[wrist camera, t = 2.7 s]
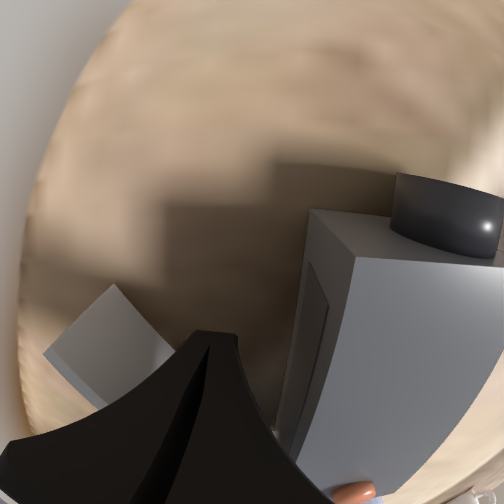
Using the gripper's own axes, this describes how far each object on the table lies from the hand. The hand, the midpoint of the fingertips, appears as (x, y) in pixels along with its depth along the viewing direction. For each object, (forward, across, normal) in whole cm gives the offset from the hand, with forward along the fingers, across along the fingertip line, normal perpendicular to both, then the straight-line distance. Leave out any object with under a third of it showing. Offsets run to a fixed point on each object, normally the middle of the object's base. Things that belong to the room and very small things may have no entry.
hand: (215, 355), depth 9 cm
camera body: (+2, -6, +1) cm, 6 cm away
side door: (+2, +1, +3) cm, 4 cm away
